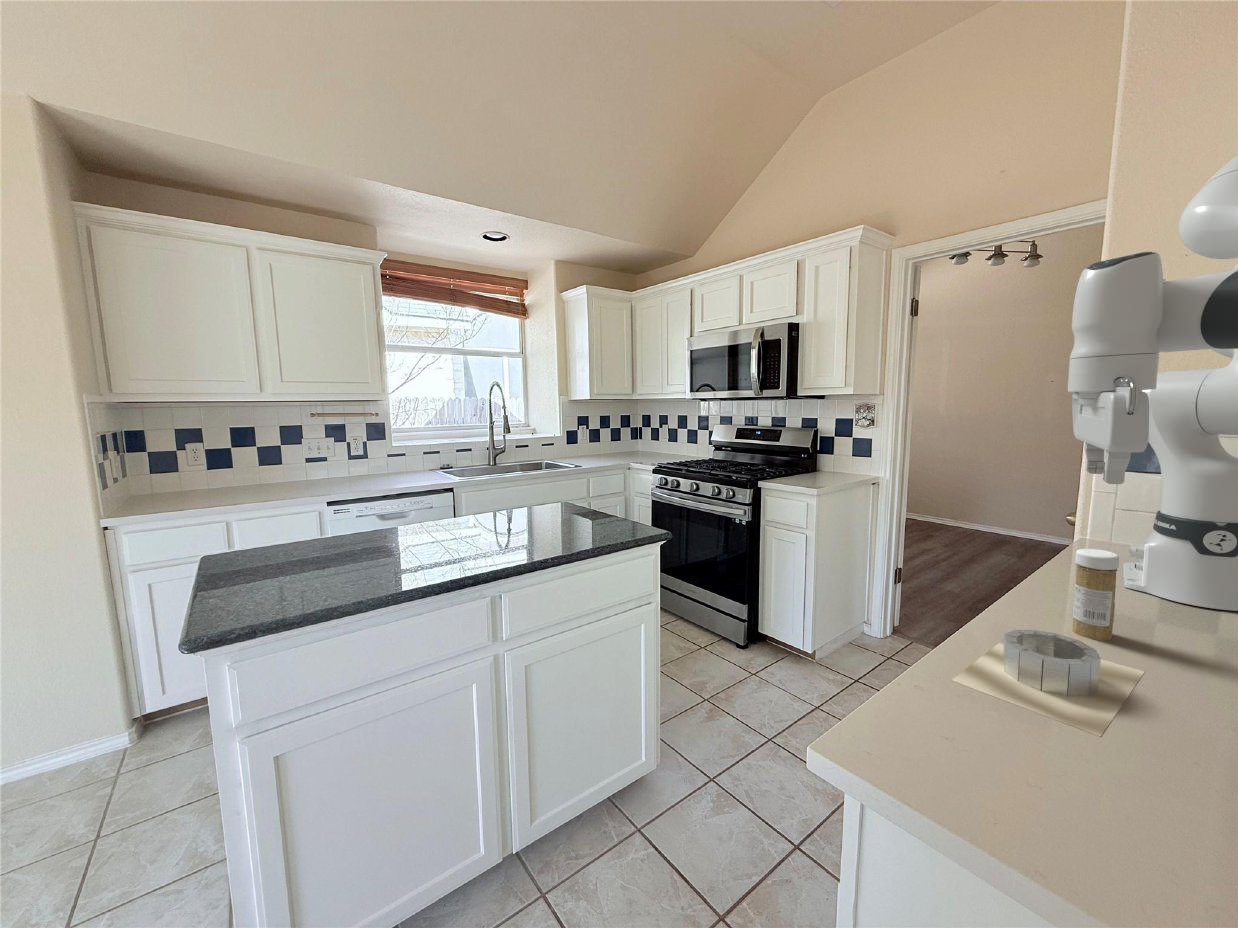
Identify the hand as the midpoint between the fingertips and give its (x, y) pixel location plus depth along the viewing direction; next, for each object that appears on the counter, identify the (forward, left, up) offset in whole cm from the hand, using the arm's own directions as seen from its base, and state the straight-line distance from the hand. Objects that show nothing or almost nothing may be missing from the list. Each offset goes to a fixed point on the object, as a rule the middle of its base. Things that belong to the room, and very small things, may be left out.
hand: (1103, 478), depth 72 cm
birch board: (+17, -7, -24) cm, 30 cm away
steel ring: (+17, -7, -23) cm, 29 cm away
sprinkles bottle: (0, 0, -24) cm, 24 cm away
